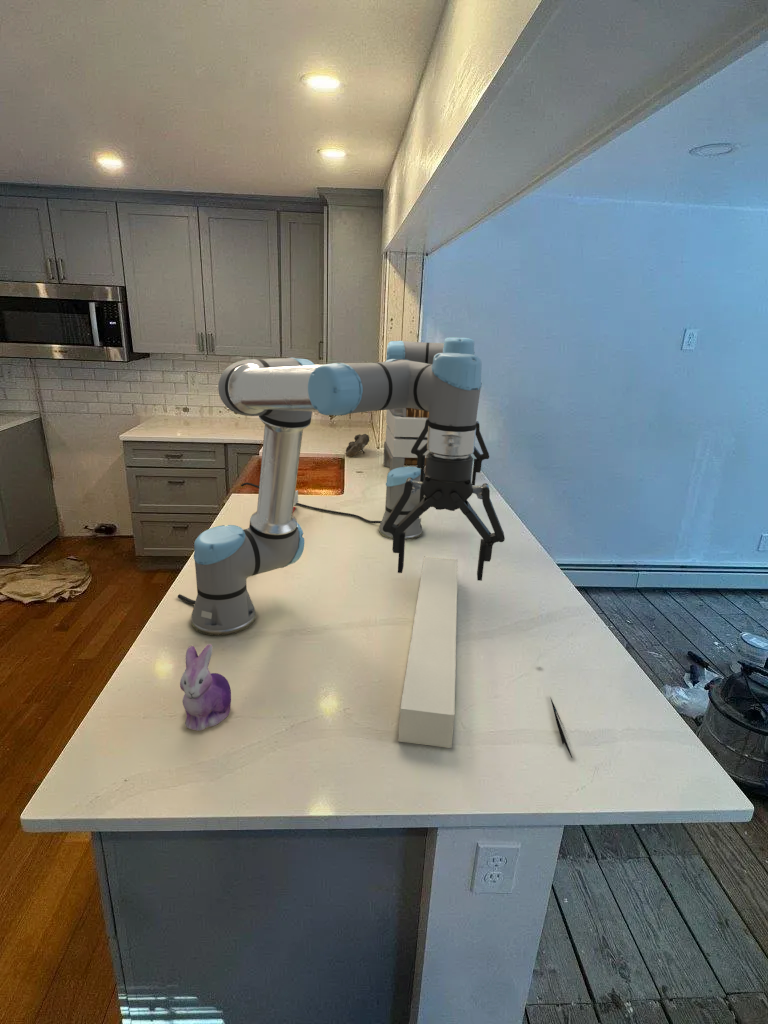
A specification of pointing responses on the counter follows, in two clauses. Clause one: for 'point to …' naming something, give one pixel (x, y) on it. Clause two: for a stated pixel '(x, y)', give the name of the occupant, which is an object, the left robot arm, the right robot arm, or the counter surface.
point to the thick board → (432, 659)
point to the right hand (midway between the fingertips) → (447, 482)
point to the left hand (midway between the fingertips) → (439, 573)
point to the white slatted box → (403, 436)
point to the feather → (560, 728)
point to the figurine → (204, 691)
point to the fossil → (357, 445)
